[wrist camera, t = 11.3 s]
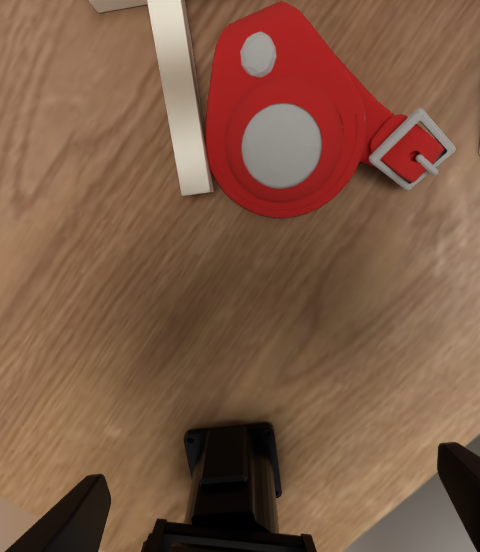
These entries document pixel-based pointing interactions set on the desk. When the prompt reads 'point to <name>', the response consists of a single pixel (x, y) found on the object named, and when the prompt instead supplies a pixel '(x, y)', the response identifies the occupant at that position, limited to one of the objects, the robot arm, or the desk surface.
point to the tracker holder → (302, 120)
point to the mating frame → (177, 88)
